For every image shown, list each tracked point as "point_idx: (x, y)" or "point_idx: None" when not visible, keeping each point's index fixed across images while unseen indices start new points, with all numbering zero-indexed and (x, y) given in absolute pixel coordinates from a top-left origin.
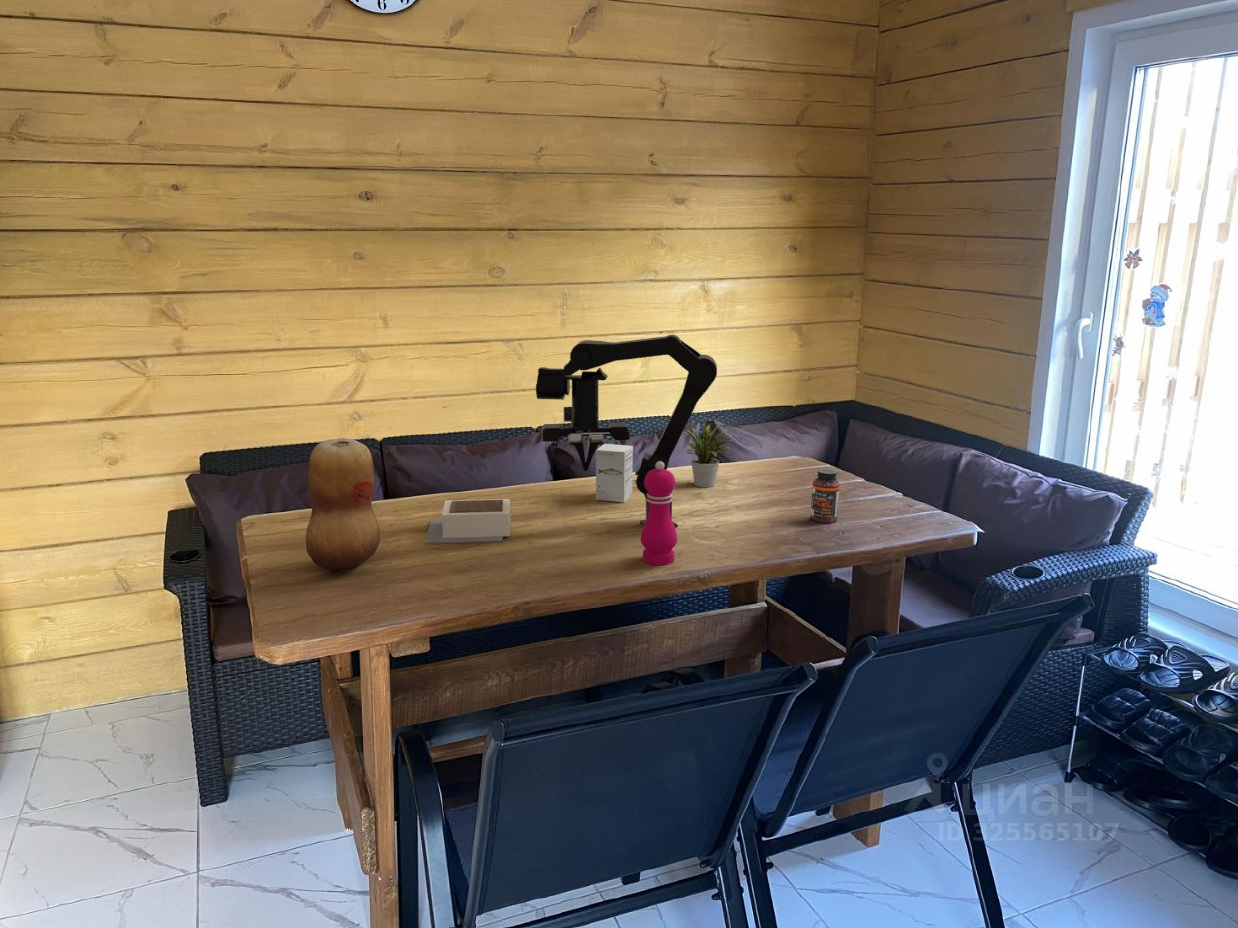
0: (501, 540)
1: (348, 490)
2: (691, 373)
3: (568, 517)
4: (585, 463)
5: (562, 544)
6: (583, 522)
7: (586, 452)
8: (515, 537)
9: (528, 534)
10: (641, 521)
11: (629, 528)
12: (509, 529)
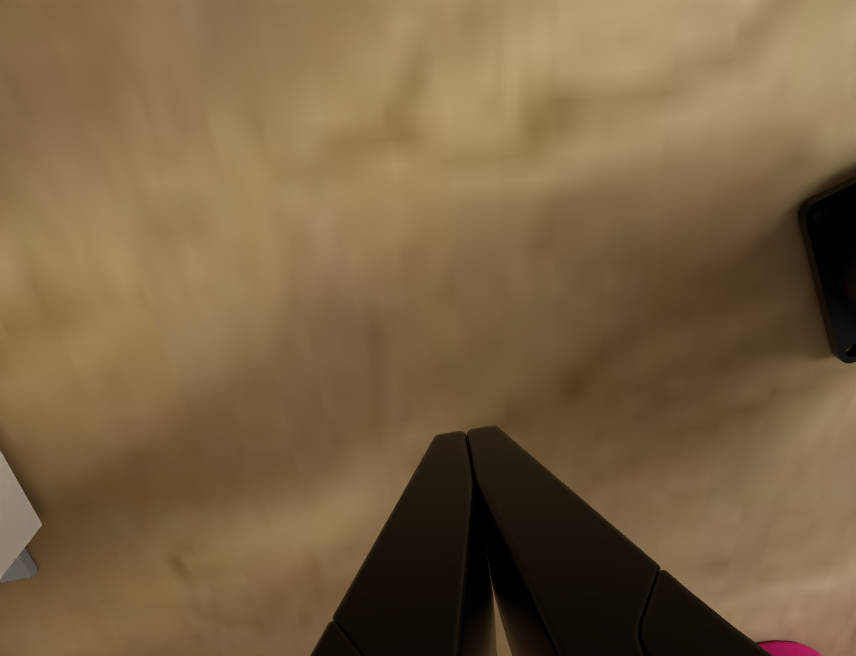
0: (27, 575)
1: None
2: None
3: (284, 95)
4: (494, 641)
5: (346, 572)
6: (412, 213)
7: (551, 653)
8: (73, 506)
9: (125, 459)
10: (814, 229)
11: (709, 314)
12: (17, 553)
